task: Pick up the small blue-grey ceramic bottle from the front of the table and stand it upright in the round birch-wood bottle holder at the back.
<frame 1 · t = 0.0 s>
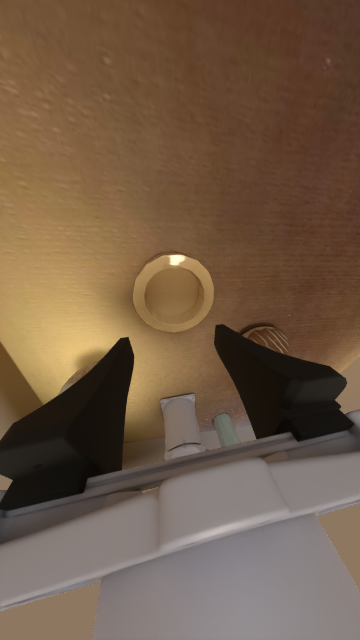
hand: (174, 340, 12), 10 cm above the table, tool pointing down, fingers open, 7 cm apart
holder: (172, 291, 20), on the table
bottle: (221, 418, 41), on the table
donut: (252, 344, 28), on the table
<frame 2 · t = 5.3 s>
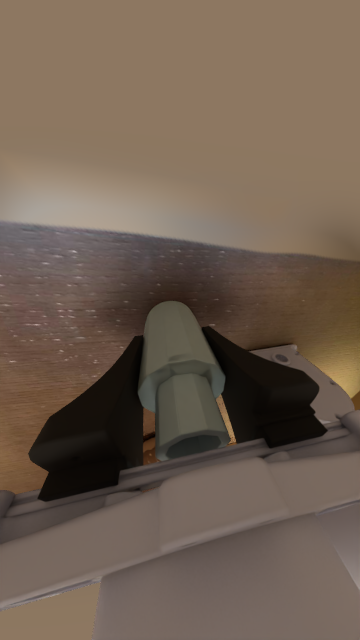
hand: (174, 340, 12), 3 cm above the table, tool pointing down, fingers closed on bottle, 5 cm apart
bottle: (170, 322, 14), on the table, touching gripper
donut: (162, 442, 28), on the table
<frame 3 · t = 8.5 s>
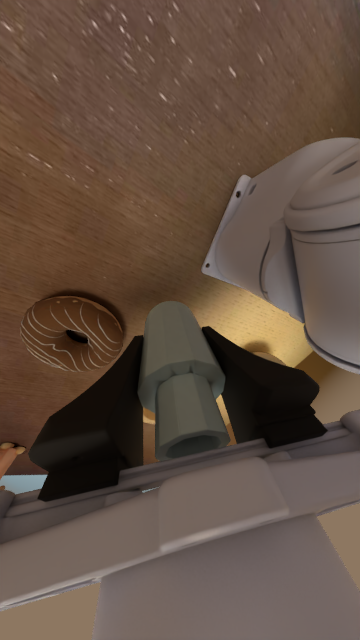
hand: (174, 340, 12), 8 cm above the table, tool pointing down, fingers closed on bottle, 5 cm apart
grandmother figurine: (11, 445, 30), on the table
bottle: (170, 322, 14), point 6 cm above the table, touching gripper
donut: (85, 327, 19), on the table
when the fingers open (3 cm above the table, at t = 12.0 s): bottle stays where it is, resting on holder.
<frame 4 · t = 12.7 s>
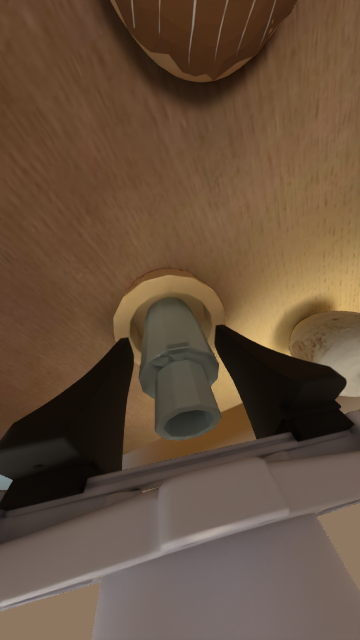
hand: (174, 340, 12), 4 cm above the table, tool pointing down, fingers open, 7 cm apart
holder: (169, 316, 15), on the table
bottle: (169, 318, 15), resting on holder
decorative object: (299, 326, 20), on the table
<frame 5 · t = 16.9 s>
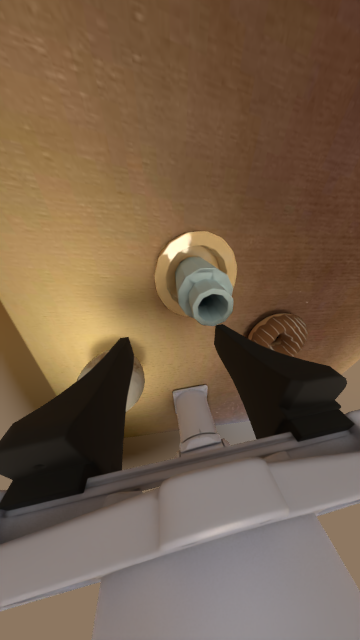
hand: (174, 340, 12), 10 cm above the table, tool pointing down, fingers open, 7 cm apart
holder: (191, 274, 20), on the table
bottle: (193, 275, 19), point 1 cm above the table, touching holder
donut: (267, 333, 28), on the table
decorative object: (121, 355, 25), on the table
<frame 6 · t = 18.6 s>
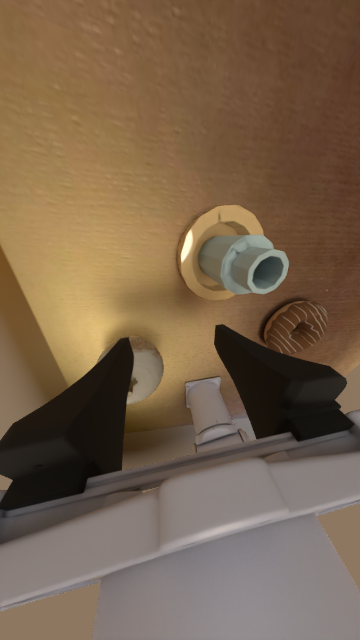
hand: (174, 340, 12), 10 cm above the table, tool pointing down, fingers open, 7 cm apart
holder: (214, 257, 19), on the table
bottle: (215, 257, 19), resting on holder
donut: (284, 323, 27), on the table
decorative object: (136, 344, 24), on the table
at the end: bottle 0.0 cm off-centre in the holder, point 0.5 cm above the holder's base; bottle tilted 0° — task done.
